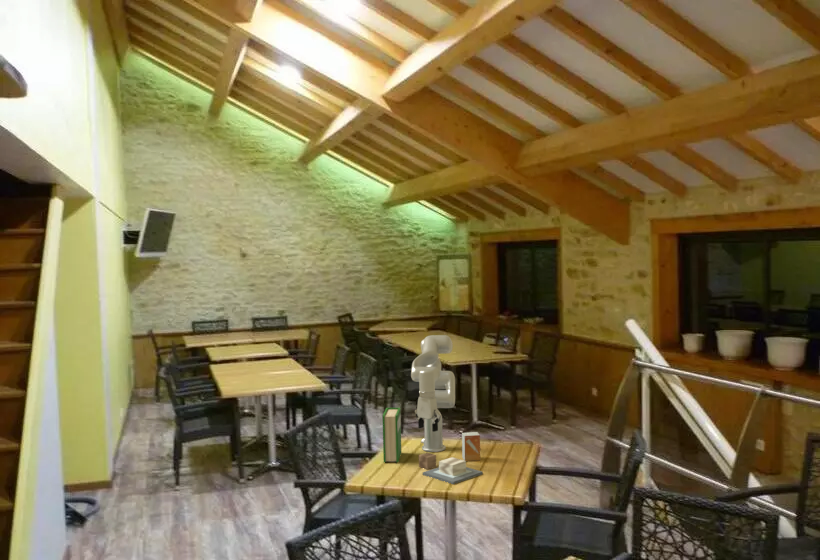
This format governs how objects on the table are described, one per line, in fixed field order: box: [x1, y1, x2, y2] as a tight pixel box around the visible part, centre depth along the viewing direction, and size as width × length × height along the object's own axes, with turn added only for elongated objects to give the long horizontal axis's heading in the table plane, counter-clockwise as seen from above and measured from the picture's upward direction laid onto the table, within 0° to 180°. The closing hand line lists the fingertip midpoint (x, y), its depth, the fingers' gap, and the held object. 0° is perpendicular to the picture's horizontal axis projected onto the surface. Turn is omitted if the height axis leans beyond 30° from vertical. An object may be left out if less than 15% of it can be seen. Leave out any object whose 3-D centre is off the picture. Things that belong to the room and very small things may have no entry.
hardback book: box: [382, 407, 402, 463], centre depth 358 cm, size 18×7×24 cm, turn 176°
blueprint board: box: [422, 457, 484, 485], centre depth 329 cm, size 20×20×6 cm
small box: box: [461, 431, 481, 462], centre depth 352 cm, size 8×6×13 cm
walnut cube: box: [418, 452, 437, 471], centre depth 341 cm, size 6×6×6 cm
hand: (428, 429), depth 341 cm, fingers open, 9 cm apart
